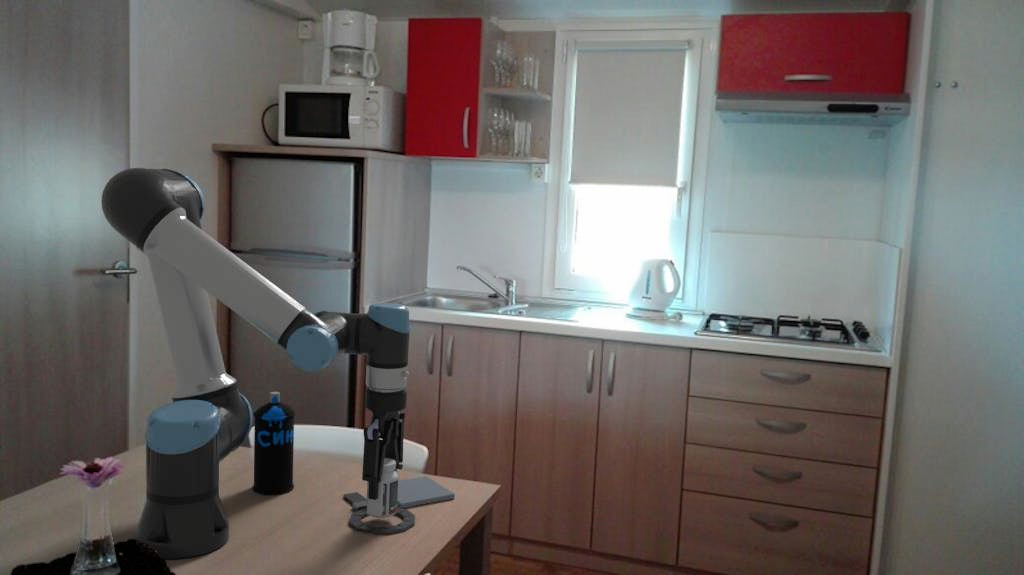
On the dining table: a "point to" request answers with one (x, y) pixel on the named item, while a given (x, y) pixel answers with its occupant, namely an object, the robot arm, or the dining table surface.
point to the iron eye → (360, 507)
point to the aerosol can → (273, 447)
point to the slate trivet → (421, 492)
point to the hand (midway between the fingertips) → (381, 508)
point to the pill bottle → (388, 489)
